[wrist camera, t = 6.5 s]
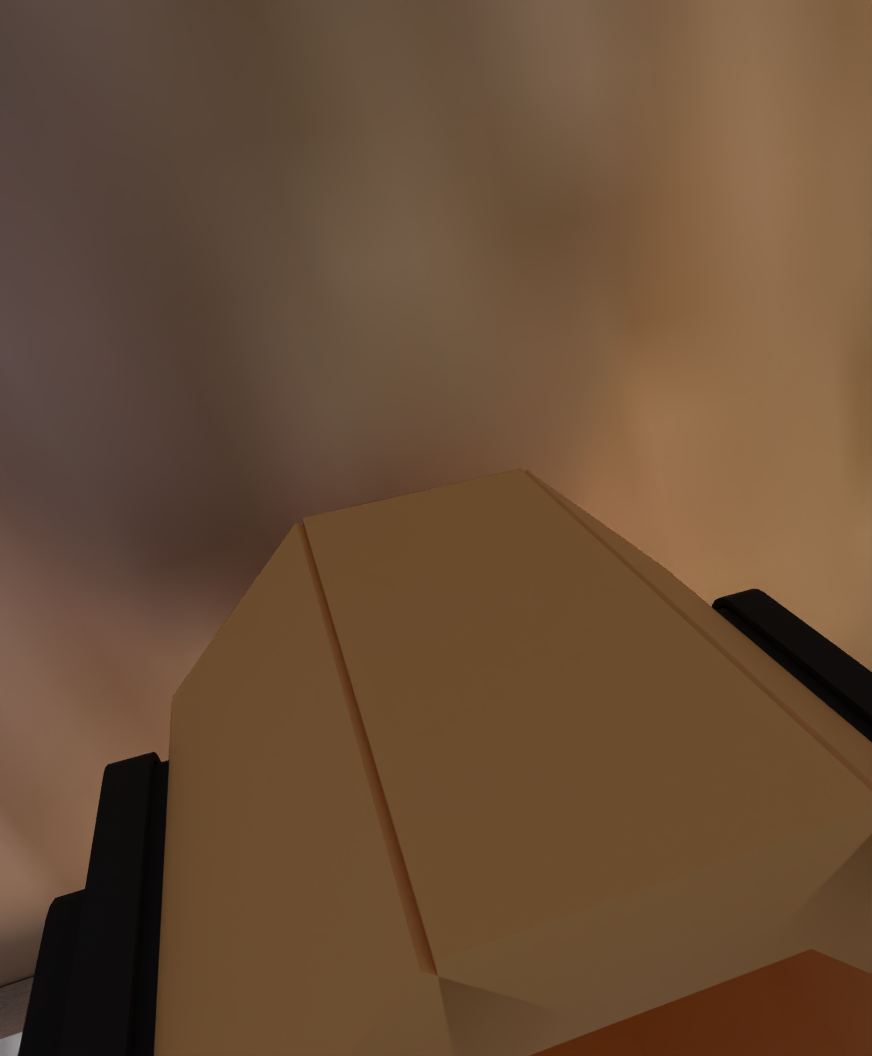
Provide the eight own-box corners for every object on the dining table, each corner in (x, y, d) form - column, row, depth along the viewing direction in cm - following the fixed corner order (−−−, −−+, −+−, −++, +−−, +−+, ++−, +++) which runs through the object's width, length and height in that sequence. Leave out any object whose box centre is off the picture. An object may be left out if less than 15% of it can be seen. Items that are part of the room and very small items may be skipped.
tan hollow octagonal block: (668, 435, 10) (1163, 709, 5) (664, 818, 13) (968, 1238, 8) (121, 558, 9) (9, 1108, 4) (257, 952, 12) (303, 1558, 7)
